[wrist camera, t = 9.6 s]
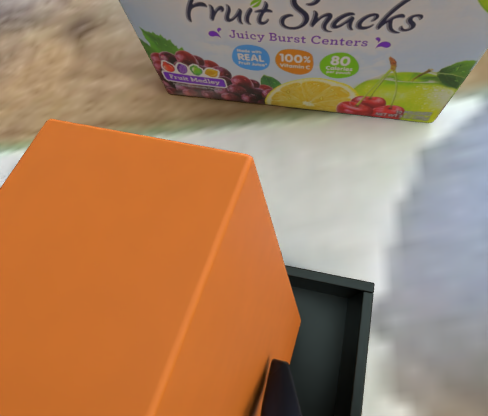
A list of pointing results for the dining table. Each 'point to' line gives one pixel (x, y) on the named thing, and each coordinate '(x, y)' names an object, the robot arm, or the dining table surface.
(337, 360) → the black square tray
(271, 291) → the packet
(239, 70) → the snack box
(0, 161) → the dining table surface
